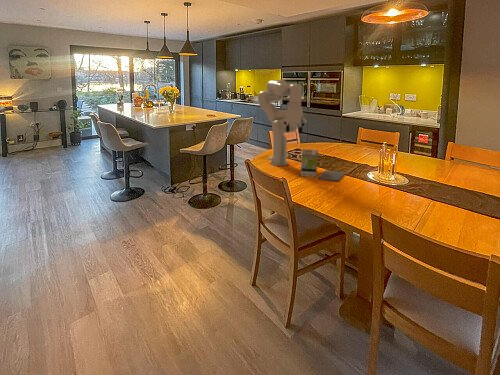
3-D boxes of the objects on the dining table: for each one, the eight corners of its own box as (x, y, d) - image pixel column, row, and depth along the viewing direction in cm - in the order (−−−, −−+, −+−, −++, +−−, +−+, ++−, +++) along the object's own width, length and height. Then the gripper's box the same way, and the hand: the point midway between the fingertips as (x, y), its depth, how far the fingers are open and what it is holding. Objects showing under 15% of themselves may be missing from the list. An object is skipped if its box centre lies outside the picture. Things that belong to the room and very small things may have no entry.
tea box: (316, 177, 217) (317, 154, 212) (300, 176, 219) (301, 153, 214) (316, 170, 231) (318, 149, 226) (301, 169, 233) (302, 148, 228)
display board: (317, 178, 213) (317, 177, 213) (325, 171, 228) (325, 170, 228) (337, 182, 208) (338, 180, 207) (345, 174, 223) (345, 172, 222)
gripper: (280, 104, 216) (279, 132, 222) (306, 106, 209) (305, 134, 214) (284, 103, 222) (283, 130, 228) (310, 104, 215) (308, 132, 221)
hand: (294, 132), depth 221 cm, fingers open, 7 cm apart
